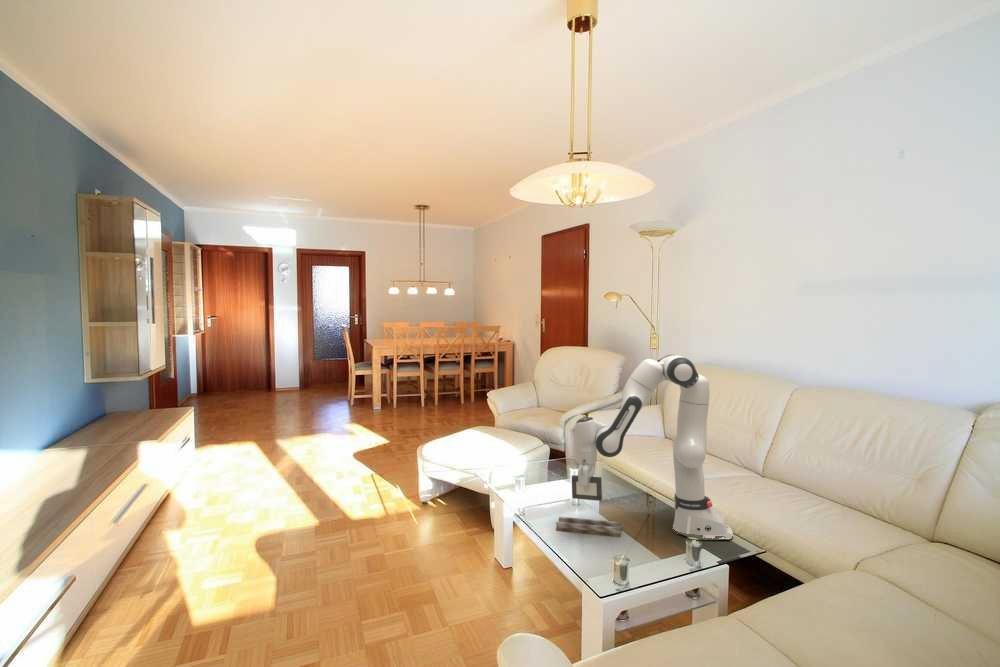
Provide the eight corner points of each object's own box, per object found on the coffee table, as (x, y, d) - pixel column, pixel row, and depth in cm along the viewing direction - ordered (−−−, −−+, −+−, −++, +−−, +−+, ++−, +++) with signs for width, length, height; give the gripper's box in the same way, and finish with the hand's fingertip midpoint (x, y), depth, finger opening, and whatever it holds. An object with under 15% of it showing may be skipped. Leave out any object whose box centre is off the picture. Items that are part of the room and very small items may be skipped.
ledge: (621, 528, 201) (621, 521, 201) (620, 537, 193) (619, 529, 193) (560, 522, 209) (559, 515, 209) (556, 530, 202) (555, 523, 202)
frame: (602, 498, 200) (601, 477, 200) (601, 500, 198) (600, 479, 197) (573, 496, 204) (572, 475, 204) (572, 498, 202) (571, 477, 201)
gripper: (590, 464, 189) (591, 499, 190) (596, 450, 209) (597, 482, 209) (573, 463, 191) (575, 498, 192) (582, 449, 211) (583, 481, 211)
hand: (587, 489), depth 201 cm, fingers closed on frame, 2 cm apart
